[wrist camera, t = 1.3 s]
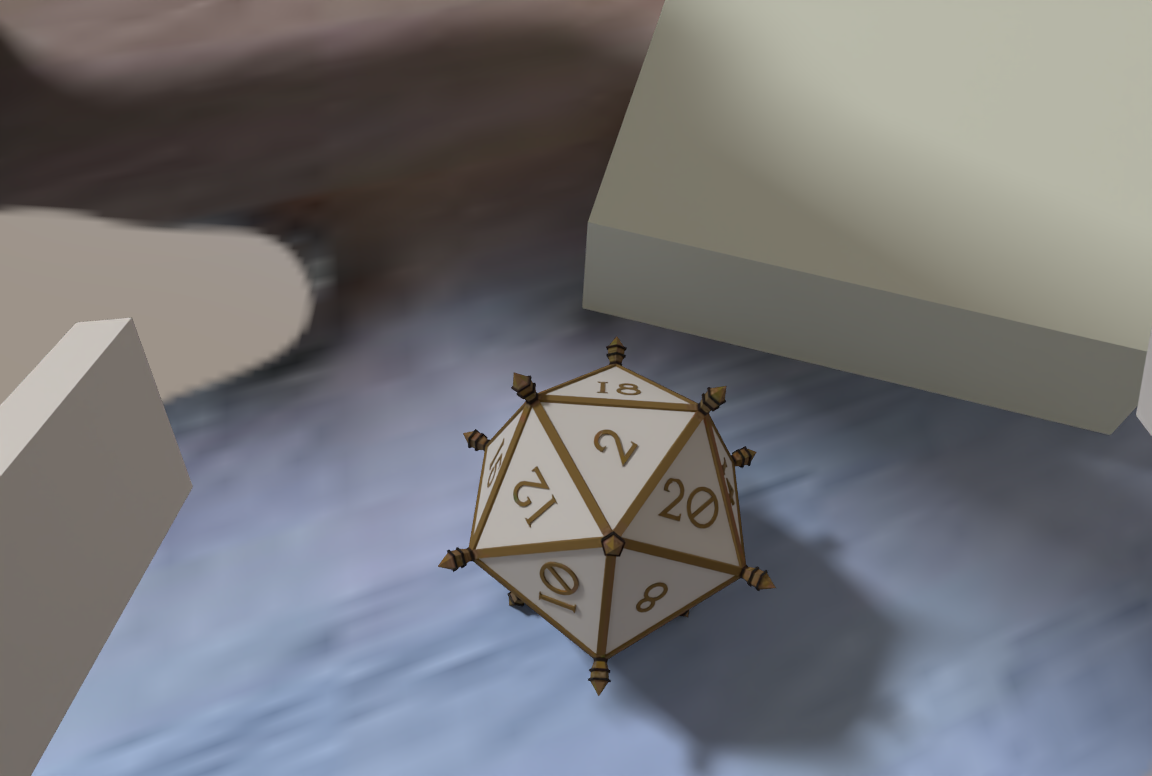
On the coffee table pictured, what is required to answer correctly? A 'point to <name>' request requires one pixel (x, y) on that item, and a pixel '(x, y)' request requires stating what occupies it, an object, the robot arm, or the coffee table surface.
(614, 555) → the game die
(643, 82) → the base block
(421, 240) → the coffee table surface
